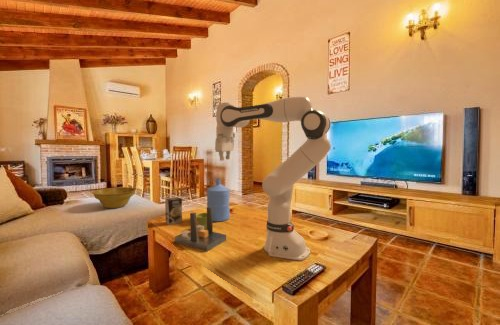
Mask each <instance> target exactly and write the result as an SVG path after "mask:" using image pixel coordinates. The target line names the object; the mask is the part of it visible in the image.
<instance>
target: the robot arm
mask: <svg viewBox="0 0 500 325" xmlns="http://www.w3.org/2000/svg"><path fill="white" fill-rule="evenodd" d="M312 105H313V104H312V102H311V100H310V99H309V97H307V96H291V97H285V98H279V99H277V100H273V101H269V102H266V103H261V104H255V105H250V106H241V107H238V106H235V105H233V103H232V102H221V103H218V105H217V106H216V111H215V112H216V116H215V120H216V129H215V130H216V131H215V132H216V135H215V136H216V137H215V142H214V146H215V147H214V151H215V152H216V153H218V156H219V161H221V162H222V161H225V159H226V160H230V156H231V152H232V151H234V146H235V139H234V138H235V137H236V136H235V135H236V134H235V132H234V128H245V127H247V126H249V123H250V121H251V120H264V121H269V122H274V123H288V122H295V121H296V122H297V121H299V122H300V125H301V129H302V131H303V133H304V135H305V137H306V141H304V142H303V144H301V146H299V147H298V148H297V149H296V151H294V152H293V153H292V154H291V155H289V157H288V158H287V159H286V160H284V161H283V162H282V163H280V164H279V165H278V166H276V168H274V169H273V170H272V171H271V172H270V173H268V175H266V176H265V178H264V179H263V180H262V183H261V185H262V186H261V187H262V191H263V192H264V193H265V194H266V195H268V196H270V197H269V201H268V202H267V220H266V238H265V239H266V240H265V244H264V246H263V248H264V249H263V250H264V251H265V252H267V254H268V256H269V257H273V258H279V259H280V258H282V259H288V260H292V261H294V260H295V261H304V260H307V258H308V257H309V256H310V255H311V248H309V247H308V246H306V240H305V239H304V237H303V236H302V235H301V234H299V233H298V232H297V231H296V230H295V229H294V228H295V225H296V224H295V223H292V222H291V221H292V220H291V203H292V198H293V190H294V185H295V184H296V183H297V182H299V181H300V180H301V179H302V178H304V177H305V176H306V174H308V173H309V172H310V171H311V170H313V169H314V167H316V166H317V165H318V164H319V163H320V162H321V161H322V160H323V159H324V158H325V157H326V155H328V154H329V152H330V150H331V147H332V146H331V142H330V141H329V139H328V138H327V137H326V134H327V133H328V132H329V131H330V128H331V121H330V119H329V117H328V115H327V114H326V113H325V112H324V111H323V112H322V111H321V110H319V109H313V106H312ZM224 153H226V155H225V157H224ZM309 254H310V255H309Z"/></svg>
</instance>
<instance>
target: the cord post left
mask: <svg viewBox="0 0 500 325" xmlns="http://www.w3.org/2000/svg"><path fill="white" fill-rule="evenodd" d="M196 215H197V213H196V212H191V213H189V223H190V227H189V229H190V232H191V241H196V240H197V230H196V226H197V216H196Z"/></svg>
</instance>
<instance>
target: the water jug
mask: <svg viewBox="0 0 500 325" xmlns="http://www.w3.org/2000/svg"><path fill="white" fill-rule="evenodd" d="M230 192H231V191H230V187H227V186H225V185H223V184H221V178H215V184H214V185H212V186H210V187H208V188H207V189H206V197H207V198H206V199H207V200H206V201H207V202H206V208H207V207H212V222H215V223H216V222H217V223H218V222H219V223H220V222H224V221H225V222H226V221H228V220H229V219H230V217H231V215H230V214H231V213H230V210H231V209H230V195H231V194H230Z"/></svg>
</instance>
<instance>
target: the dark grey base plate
mask: <svg viewBox="0 0 500 325" xmlns="http://www.w3.org/2000/svg"><path fill="white" fill-rule="evenodd" d="M202 229H203V230H204V226H202V225H199V224H196V230H197V240H196V241H191V232H190V230H188V229H185V230H183V231H182V232H181V233H180V234H178V235H175V236H174V243H176V244H180V245H183V246H187V247H190V248H194V249H197V250H201V251H205V252H208V251H210V250H212V249H214V248H216V247H217V246H219V245H221V244H222V243H224V242H226V241H227V234H226V233H225V234H224V233H219V232H216V231H213V232H212V233H208V237H206V238H203V237H199V231H200V230H202Z"/></svg>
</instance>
